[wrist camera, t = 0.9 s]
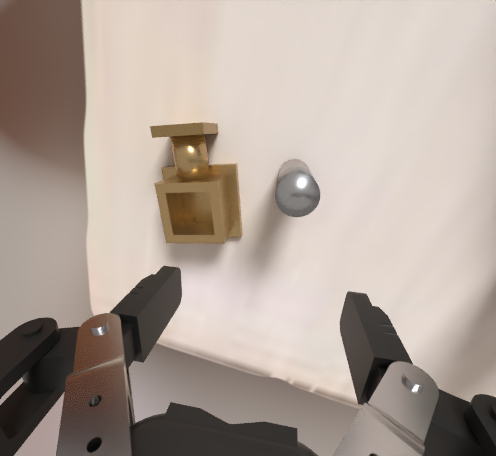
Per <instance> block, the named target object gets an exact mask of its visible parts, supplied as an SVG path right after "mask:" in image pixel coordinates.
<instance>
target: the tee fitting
mask: <svg viewBox="0 0 496 456" xmlns="http://www.w3.org/2000/svg"><path fill="white" fill-rule="evenodd" d="M150 128H151V133H152V138H154V137H169V136H170V140H171V146H172V152H173V158H174V164H175V166H170V167H162V173H163V179H164V180H163V181H160V182H158V183H156V184H155V188H156V193H157V198H158V203H159V208H160V213H161V218H162V223H163V228H164V233H165V238H166V243H225V241H226V240H227V238H228V237H242V223H241V210H240V197H239V183H238V170H237V164H215V165H209V164H208V155H207V146H206V138H205V134H215V133H218V126H217V124H215V123H191V124H177V125H163V126H150Z"/></svg>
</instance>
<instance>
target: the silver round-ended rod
mask: <svg viewBox="0 0 496 456" xmlns="http://www.w3.org/2000/svg"><path fill="white" fill-rule="evenodd" d="M275 197H276V203H277V205H278V207H279V208H280V210H281V211H282V212H283V213H285V214H287V215H289V216H292V217H302V216H305V215H308V214H309V213H311V212H312V211H313V210H314V209H315V208H316V207H317V205H318V203H319V200H320V190H319V187H318V185H317V183H316V181H315V179H314V178H313V176H312V174H311V172H310V170H309V169H308V167H307V165H306V164H305V163H304V162H303V161H301V160H298V159H291V160H288V161H286V162H285V163H284V164H283V165H282V166H281V168H280V170H279V176H278V182H277V188H276V196H275Z"/></svg>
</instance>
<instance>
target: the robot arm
mask: <svg viewBox="0 0 496 456" xmlns="http://www.w3.org/2000/svg"><path fill="white" fill-rule="evenodd" d="M181 297H182V288H181V271H180V268H177V267H169V266H163V267H162V268H161V269H160V270H159V271H158V272H157V273H156V274H155V275H153V274H151V275H150V276H148V277H146V278H144V279H142V280H141V281H140V282H139V283H138V284H137V285H136V286H135V288H133V289H132V290H131V291H130V293H128V294H127V295H126V296H125V297H124V298H123V299H122V300H121V301H120V302H119V303H118V304H117V305H116V306H115V308H114V309H113V310H112V311H111V312H110V313H104V314H99V315H96V316H94V317H92V318H89V319H88V320H87V321H85V322H84V323H83V324H82V325H81V326H80V327H73V328H61V329H59V328H58V325H57V322H56V321H55V320H54V319H52V318H38V319H35V320H31V321H28V322H26V323H24V324H22V325H20V326H19V327H17V328H16V329H14V330H13V331H12V332H11V333H9V334H8V335H7V336H5V337H4V338H3V339H1V340H0V399H1V397H2V396H3V395H4V394H5V393H6V392H7V391H8V390H9V389H10V388H11V387H12V386H13V385H14V384H15V383H16V382H17V381H18V380H19V379H20V378H21V377H22V378H23V380H24V382H23V383H22V384H21V385H20V386H19V387H18V388H17V389H16V390H15V391H14V392H13V393H12V394H11V395H10V396H9V397H8V398H7V399H6V400H5V401H4V402H3V403H2V404H1V405H0V456H14V454H15V453H16V452H17V451H18V449H19V448H20V447H21V446H22V444H23V443H24V442H25V440H26V439H27V438H28V437H29V436H30V434H31V433H32V432H33V430H34V429H35V428H36V427H37V426H38V424H39V423H40V422H41V420H42V419H43V418H44V417H45V415H46V414H47V413H48V412H49V410H50V409H51V408H52V407H53V405H54V404H55V403H56V402H57V400H58V399H59V398H60V397H61V395H62V394H63V392H65V393H64V400H63V407H62V415H61V422H60V429H59V437H58V444H57V451H56V456H318V455H317V454H316V453H314V452H313V451H312V450H311V449H309V448H308V447H306V446H305V445H304V444H302V443H300V442H298V441H297V428H292V427H288V426H282V425H278V424H273V423H268V422H255V423H244V424H228V423H226V422H224V421H222V420H221V419H218V418H217V417H215V416H213V415H211V414H210V413H208V412H206V411H204V410H202V409H200V408H196V407H191V406H186V405H181V404H176V403H170V405H169V407H168V409H167V412H166V413H165V414H159V415H154V416H151V417H148V418H145V419H143V420H142V421H139V422H137V423H135V418H134V409H133V399H132V391H131V381H130V373H129V366H130V365H131V363H132V362H133V361H139V362H144V361H145V359H146V358H147V356H148V354H149V353H150V351H151V350H152V348H153V346H154V345H155V343H156V342H157V340H158V339H159V337H160V335H161V334H162V332H163V331H164V329H165V327H166V326H167V324H168V323H169V321H170V319H171V318H172V316H173V315H174V313H175V312H176V310H177V308H178V307H179V305H180V302H181ZM340 332H341V336H342V340H343V344H344V348H345V352H346V356H347V360H348V364H349V368H350V372H351V376H352V381H353V385H354V389H355V393H356V397H357V401H358V404H361V405H363V406H362V408H361V410H360V411H359V413H358V415H357V416H356V418H355V420H354V421H353V423H352V425H351V426H350V428H349V430H348V431H347V433H346V435H345V436H344V438H343V439H342V441H341V443H340V445H339V446H338V448H337V449H336V451H335V453H334V454H333V456H496V398H495V397H493V396H489V395H484V394H479V395H475V396H474V397H473V398H472V400H471V402H468V401H465V400H463V399H460V398H458V397H456V396H453V395H451V394H448V393H446V392H444V391H442V390H440V389H438V387H437V385H436V383H435V382H434V380H433V379H432V378H431V377H430V376H429V375H428V374H427V373H426V372H424V371H423V370H422V369H420V368H419V367H417V366H415V365H413V363H412V361H411V359H410V357H409V355H408V354H407V352H406V350H405V348H404V346H403V344H402V342H401V340H400V338H399V336H398V335H397V333H396V331H395V329H394V327H393V325H392V323H391V321H390V319H389V317H388V316H387V315H386V314H385V313H384V312H383V311H382V310H381V309H380V308H379V307H375V306H372V304H371V302H370V300H369V298H368V296H367V294H364V293H357V292H347V295H346V298H345V302H344V306H343V310H342V314H341V319H340Z"/></svg>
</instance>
